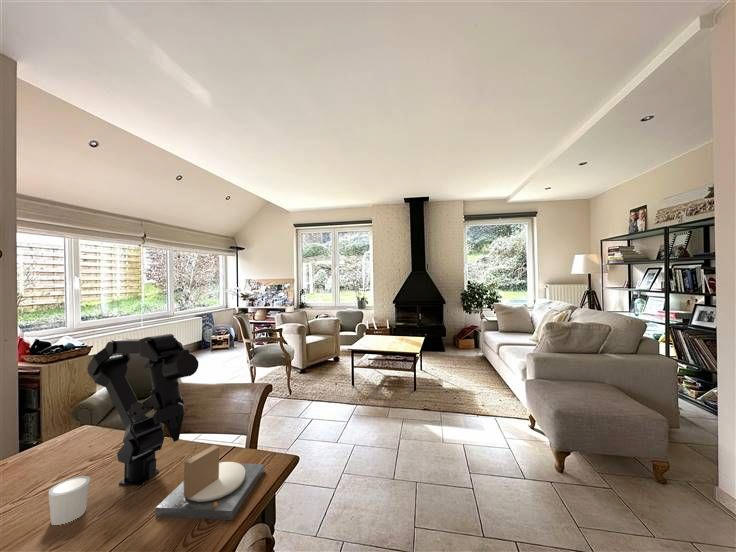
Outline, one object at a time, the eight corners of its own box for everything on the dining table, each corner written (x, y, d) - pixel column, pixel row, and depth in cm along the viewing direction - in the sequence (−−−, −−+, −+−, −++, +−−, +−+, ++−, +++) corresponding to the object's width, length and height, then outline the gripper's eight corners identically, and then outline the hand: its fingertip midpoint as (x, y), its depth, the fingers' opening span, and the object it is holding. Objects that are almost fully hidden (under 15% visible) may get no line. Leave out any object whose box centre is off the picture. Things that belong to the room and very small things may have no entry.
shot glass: (62, 530, 64) (63, 497, 65) (38, 525, 66) (39, 492, 66) (96, 507, 71) (98, 477, 71) (74, 503, 72) (75, 473, 73)
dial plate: (155, 516, 68) (155, 507, 68) (203, 469, 86) (203, 461, 86) (231, 520, 67) (231, 510, 67) (263, 471, 85) (264, 463, 85)
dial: (219, 461, 86) (220, 429, 86) (256, 473, 81) (257, 438, 81) (166, 494, 72) (167, 455, 73) (207, 511, 67) (208, 469, 67)
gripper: (132, 389, 83) (142, 446, 82) (120, 397, 68) (133, 467, 66) (178, 375, 89) (189, 428, 88) (178, 379, 74) (190, 443, 72)
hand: (176, 440), depth 78 cm, fingers closed
